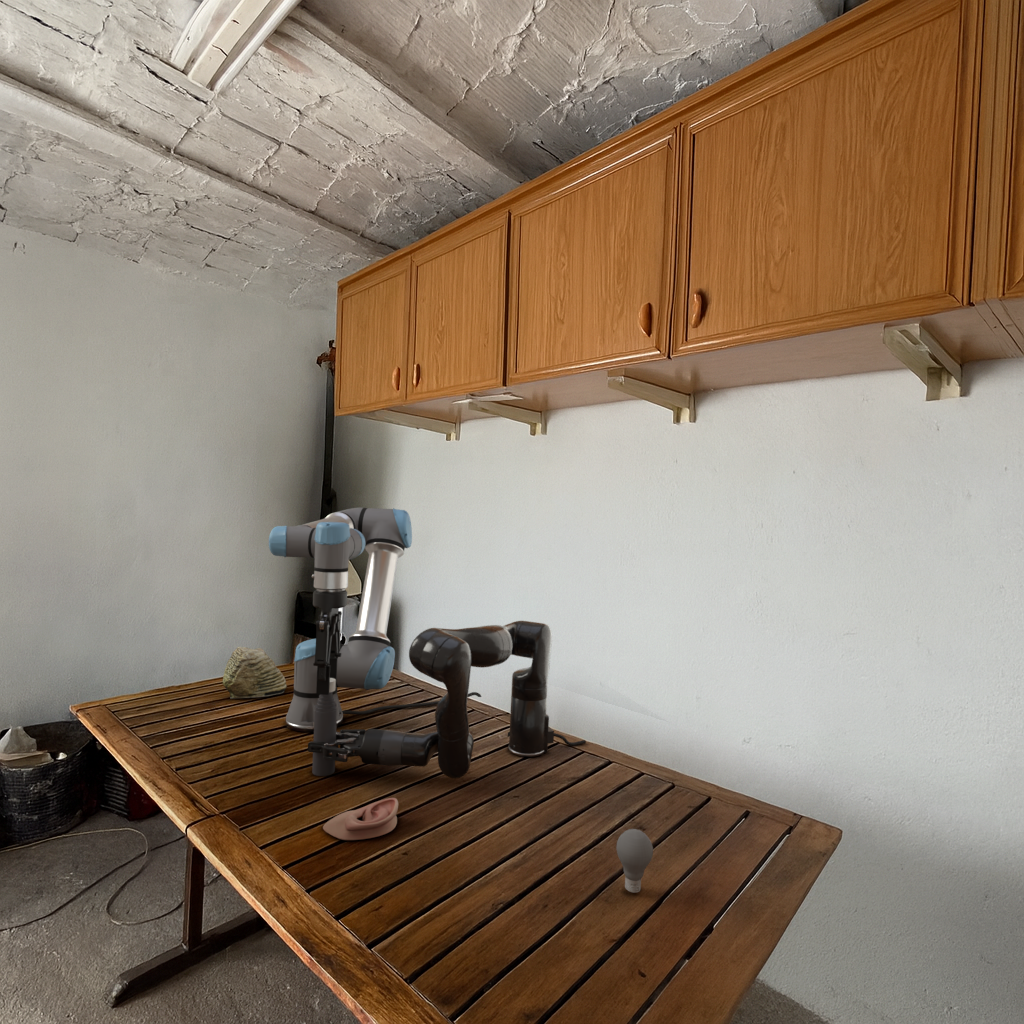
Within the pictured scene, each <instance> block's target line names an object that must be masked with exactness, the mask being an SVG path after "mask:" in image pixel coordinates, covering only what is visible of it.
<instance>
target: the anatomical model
mask: <svg viewBox="0 0 1024 1024" xmlns="http://www.w3.org/2000/svg"><path fill="white" fill-rule="evenodd" d="M398 809H399V801H398V799H397V798H396V797H389V798H388V797H387V798H383V799H381V800H378V801H375V802H372V803H369V804H367V805H365V806H363V807H360V808H357V809H353V810H352V809H351V810H348V811H344V812H341V813H340V814H337V815H336V816H333V818H330V819H329V820H328V821H327V822H325V823H324V824H323V826H322V830H323V831H324V832H325V833H326V834H329V835H330V836H332V837H334V838H337V839H339V840H342V841H358V840H359V841H360V840H366V839H373V838H377V837H380V836H383V835H386V834H388V833H390V832H392V831H393V830H394V829H395V828H396V826H397V824H398V817H397V813H398Z"/></svg>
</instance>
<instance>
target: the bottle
mask: <svg viewBox="0 0 1024 1024" xmlns="http://www.w3.org/2000/svg"><path fill="white" fill-rule="evenodd" d="M336 725H337V704H336V701H335V698H334V695H333V694H332V692H329V695H319V698H318V701H317V704H316V706H315V713H314V732H313V740H312V741H314V742H325V743H328V742H335V740H336V732H337V727H336ZM331 747H335V746H331ZM323 755H324V753H315V752H312V768H311V769H312V770H311V772H312V774H313V775H314V776H317V777H328V776H331V775H332V774H334V773H335V771H336V761H334V760H329V759H324V758H323Z"/></svg>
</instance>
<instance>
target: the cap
mask: <svg viewBox="0 0 1024 1024" xmlns="http://www.w3.org/2000/svg"><path fill="white" fill-rule="evenodd" d="M335 687H336V679H334V678H330V688H329V692H333V691H335Z"/></svg>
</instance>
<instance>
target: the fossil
mask: <svg viewBox="0 0 1024 1024" xmlns="http://www.w3.org/2000/svg"><path fill="white" fill-rule="evenodd" d="M222 676H223V677H222V685H223V687H224V688H225V690H226V691H228V693H229V698H230V699H250V698H264V697H271V696H275V695H281V694H284V693H285V691H286V689H287V687H288V686H287V680H286V678H285V676H284V674H283V673H282V672H281V669H279V668H278V667H277V665H276V663H275V662H274V660H273V659H272V658H271V657H270V656H269V655H268V654H267V653H266V652H265V650H264V649H263V648H260V647H258V648H251V647H247V646H246V647H245V646H238V647H237V648H236V649H235V650H233V651H232V653H231V656H230V657H229V659H228V660H227V663H226V666H225V668H224V671H223V675H222Z"/></svg>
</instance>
